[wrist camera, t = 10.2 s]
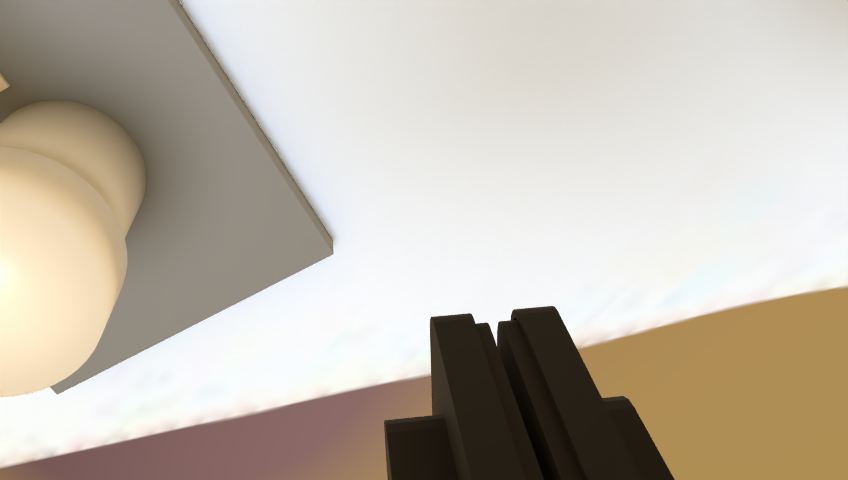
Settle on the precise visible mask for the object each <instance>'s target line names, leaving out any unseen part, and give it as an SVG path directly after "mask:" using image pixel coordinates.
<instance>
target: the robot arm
mask: <svg viewBox="0 0 848 480" xmlns="http://www.w3.org/2000/svg"><path fill="white" fill-rule="evenodd" d="M430 345H431V378H432V379H431V380H432V416H424V417H415V418H404V419H395V420H385V422H384V427H385V445H386V460H387V474H388V480H674V478H673V476H672V474H671V473H670V471H669V469H668V467H667V465H666V464H665V462H664V460H663V458H662V456H661V455H660V453H659V451H658V449H657V447H656V446H655V444H654V442H653V440H652V438H651V437H650V435H649V433H648V431H647V430H646V428H645V426H644V424H643V422H642V420H641V419H640V417H639V415H638V413H637V412H636V410H635V408H634V406H633V405H632V404H631V402H630V401H629V399H627V398H625V397H624V396H619V397H610V398H602V397H601V396H600V394H599V392H598V390H597V388H596V386H595V384H594V382H593V380H592V378H591V376H590V374H589V372H588V370H587V368H586V366H585V364H584V363H583V360H582V358H581V356H580V354H579V352H578V350H577V348H576V346H575V344H574V342H573V340H572V338H571V336H570V334H569V332H568V331H567V329H566V327H565V325H564V323H563V321H562V319H561V317H560V315H559V313H558V311H557V309H556V308H555V307H553V306H548V307H536V308H525V309H514V310H513V311H512V315H511V321H500V322H499V323H498V331H497V346H496V343H495V340H494V337H493V334H492V332H491V329H490V326H489V324H488V323H478V324H475V321H474V318H473V316H472V314H459V315H448V316H437V317H431V319H430Z"/></svg>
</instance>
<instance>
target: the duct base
mask: <svg viewBox="0 0 848 480" xmlns="http://www.w3.org/2000/svg"><path fill="white" fill-rule="evenodd" d="M0 146H3V147H12V148H17V149H22V150H27V151H30V152H33V153H37V154H40V155H43V156H45V157H47V158H50V159H52V160H54V161H57V162H59V163H60V164H62V165H64V166H66V167H67V168H69V169H71V170H73V171H74V172H75V173H77V174H78V175H79V176H81V177H82V178H84V179H85V180H86V181H87V182H88V183H89V184H90V185H92V186H93V187H94V188H95V189H96V190H97V191H98V192H99V193H100V195H101V196H102V197H103V198H104V199H105V200H106V202H107V203H108V205H109V206H110V208H111V209H112V211H113V212H114V214H115V216H116V218H117V220H118V222H119V224H120V226H121V229H122V231H123V234H124V237H125V242H126V248H127V270H126V276H125V280H124V283H123V286H122V289H121V291H120V293H119V296H118V298H117V300H116V303H115V305H114V307H113V310H112V312H111V314H110V317H109V319H108V321H107V324H106V326H105V328H104V331H103V333H102V335H101V338H100V340H99V342H98V344H97V346H96V348H95V350H94V351H93V353H92V354H91V355H90V357H89V358H88V360H87V361H86V362H85V363H84V364H83V365H82V366H81V367H80V368H79V369H78V370H76V371H75V372H74V373H72V374H71V375H70V376H69V377H67V378H65V379H64V380H62V381H60V382H58V383H57V384H55V385H52V386H50V387H51V389H52V390H53V391H54V392H55V393H56V394H59V393H61V392H63V391H65V390H67V389H69V388H71V387H73V386H75V385H77V384H79V383H81V382H83V381H85V380H87V379H89V378H91V377H93V376H95V375H97V374H99V373H101V372H102V371H104V370H106V369H108V368H110V367H112V366H114V365H116V364H118V363H120V362H122V361H124V360H126V359H128V358H130V357H132V356H134V355H136V354H138V353H140V352H142V351H144V350H146V349H148V348H150V347H152V346H154V345H156V344H157V343H159V342H161V341H163V340H165V339H167V338H169V337H171V336H173V335H175V334H177V333H179V332H181V331H183V330H185V329H187V328H189V327H191V326H193V325H195V324H197V323H199V322H201V321H203V320H205V319H207V318H209V317H211V316H213V315H214V314H216V313H218V312H220V311H222V310H224V309H226V308H228V307H230V306H232V305H234V304H236V303H238V302H240V301H242V300H244V299H246V298H248V297H250V296H252V295H254V294H256V293H258V292H260V291H262V290H264V289H266V288H268V287H269V286H271V285H273V284H275V283H277V282H279V281H281V280H283V279H285V278H287V277H289V276H291V275H293V274H295V273H297V272H299V271H301V270H303V269H305V268H307V267H309V266H311V265H313V264H315V263H317V262H319V261H321V260H323V259H325V258H326V257H328V256H330V255H332V254H333V240H332V239H331V237H330V236H329V234H328V233H327V231H326V229H325V228H324V226H323V225H322V223H321V222H320V220H319V219H318V217H317V215H316V214H315V212H314V211H313V209H312V208H311V206H310V205H309V203H308V202H307V200H306V198H305V197H304V195H303V194H302V192H301V191H300V189H299V188H298V186H297V185H296V183H295V181H294V180H293V178H292V177H291V175H290V174H289V172H288V171H287V169H286V167H285V166H284V164H283V163H282V161H281V160H280V158H279V157H278V155H277V154H276V152H275V150H274V149H273V147H272V146H271V144H270V143H269V141H268V140H267V138H266V137H265V135H264V133H263V132H262V130H261V129H260V127H259V126H258V124H257V123H256V121H255V119H254V118H253V116H252V115H251V113H250V112H249V110H248V109H247V107H246V106H245V104H244V102H243V101H242V99H241V98H240V96H239V95H238V93H237V92H236V90H235V89H234V87H233V85H232V84H231V82H230V81H229V79H228V78H227V76H226V75H225V73H224V71H223V70H222V68H221V67H220V65H219V64H218V62H217V61H216V59H215V58H214V56H213V54H212V53H211V51H210V50H209V48H208V47H207V45H206V44H205V42H204V41H203V39H202V37H201V36H200V34H199V33H198V31H197V30H196V28H195V27H194V25H193V23H192V22H191V20H190V19H189V17H188V16H187V14H186V13H185V11H184V10H183V8H182V6H181V5H180V3H179V2H178V0H0Z"/></svg>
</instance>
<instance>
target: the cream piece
mask: <svg viewBox="0 0 848 480" xmlns="http://www.w3.org/2000/svg"><path fill="white" fill-rule="evenodd" d="M126 270H127V248H126V242H125V237H124V234H123V231H122V229H121V226H120V224H119V222H118V220H117V218H116V216H115V214H114V212H113V211H112V209H111V208H110V206H109V205H108V203H107V202H106V200H105V199H104V198H103V197H102V196H101V195H100V193H99V192H98V191H97V190H96V189H95V188H94V187H93V186H92V185H90V184H89V183H88V182H87V181H86V180H85V179H84V178H82V177H81V176H79V175H78V174H77V173H75V172H74V171H73V170H71V169H69V168H67V167H66V166H64V165H62V164H60V163H59V162H57V161H54V160H52V159H50V158H47V157H45V156H43V155H40V154H37V153H33V152H30V151H27V150H22V149H17V148H12V147H3V146H0V397H10V396H18V395H23V394H29V393H32V392H36V391H39V390H43V389H45V388H47V387H50V386H52V385H55V384H57V383H58V382H60V381H62V380H64V379H65V378H67V377H69V376H70V375H71V374H72V373H74V372H75V371H76V370H78V369H79V368H80V367H81V366H82V365H83V364H84V363H85V362H86V361H87V360H88V358H89V357H90V355H91V354H92V353H93V351H94V350H95V348H96V346H97V344H98V342H99V340H100V338H101V335H102V333H103V331H104V328H105V326H106V324H107V321H108V319H109V317H110V314H111V312H112V310H113V307H114V305H115V303H116V300H117V298H118V296H119V293H120V291H121V289H122V286H123V283H124V280H125V276H126Z"/></svg>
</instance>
